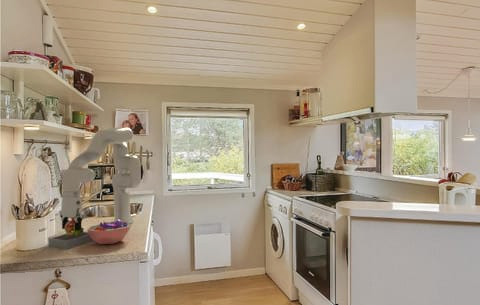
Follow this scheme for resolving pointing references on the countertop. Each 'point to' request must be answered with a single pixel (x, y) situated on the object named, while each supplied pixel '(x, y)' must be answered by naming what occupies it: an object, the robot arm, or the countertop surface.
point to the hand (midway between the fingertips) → (71, 229)
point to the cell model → (109, 232)
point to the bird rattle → (72, 228)
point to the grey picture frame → (69, 240)
